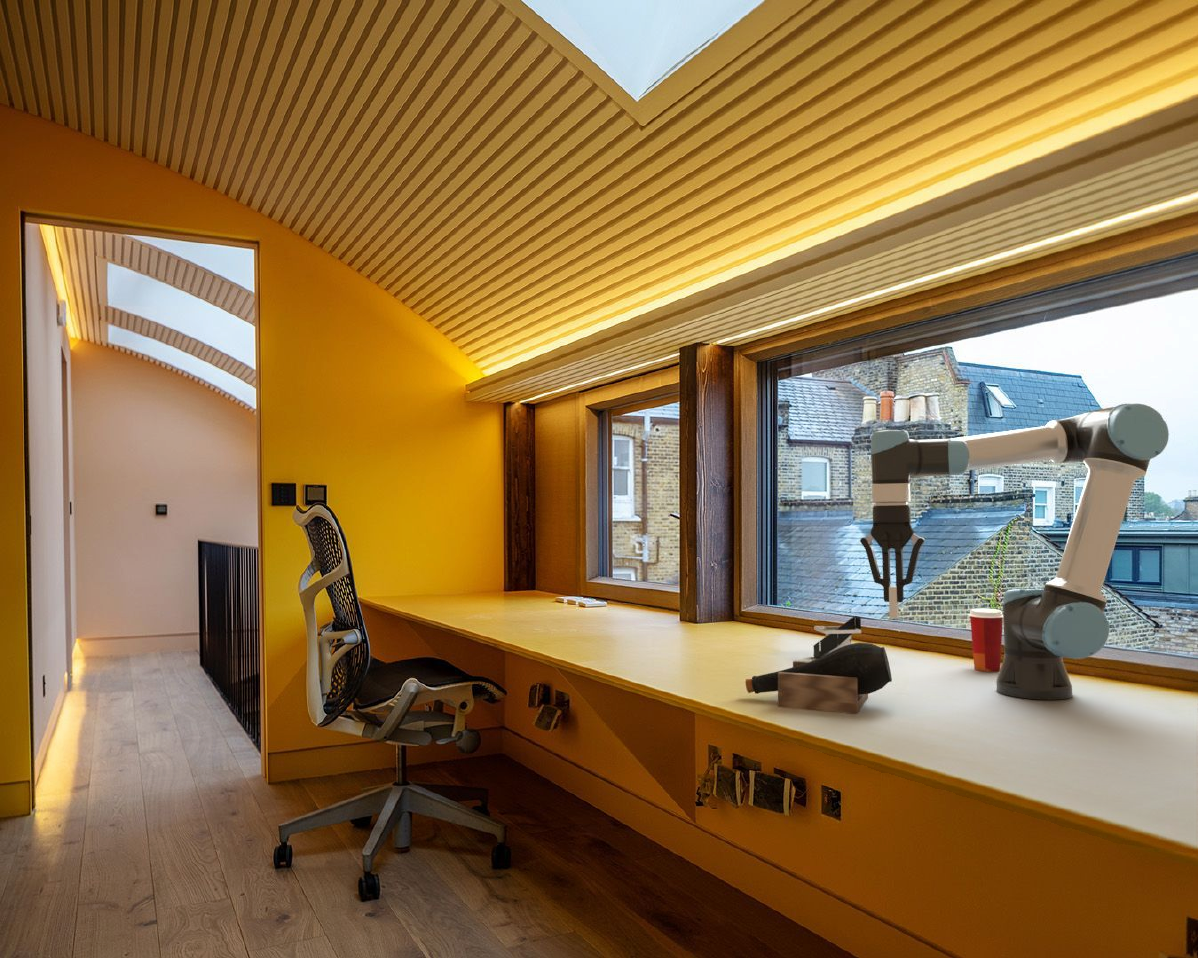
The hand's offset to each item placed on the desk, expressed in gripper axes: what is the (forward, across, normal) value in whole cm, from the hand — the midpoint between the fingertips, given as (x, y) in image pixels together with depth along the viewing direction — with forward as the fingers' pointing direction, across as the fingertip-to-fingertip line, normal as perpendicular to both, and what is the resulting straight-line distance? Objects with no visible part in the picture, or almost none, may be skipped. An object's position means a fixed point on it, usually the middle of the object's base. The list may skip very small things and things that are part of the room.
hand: (894, 617), depth 183 cm
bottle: (+10, +1, +1) cm, 10 cm away
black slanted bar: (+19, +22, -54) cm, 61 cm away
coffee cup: (+19, -16, -53) cm, 58 cm away
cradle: (+19, +15, 0) cm, 24 cm away
